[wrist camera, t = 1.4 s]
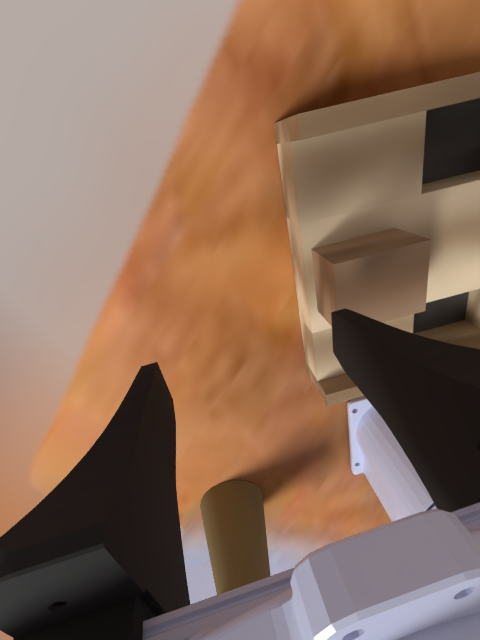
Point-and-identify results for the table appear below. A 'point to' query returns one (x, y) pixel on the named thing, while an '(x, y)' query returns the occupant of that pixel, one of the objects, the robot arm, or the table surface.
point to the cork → (235, 534)
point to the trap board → (388, 204)
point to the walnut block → (373, 275)
